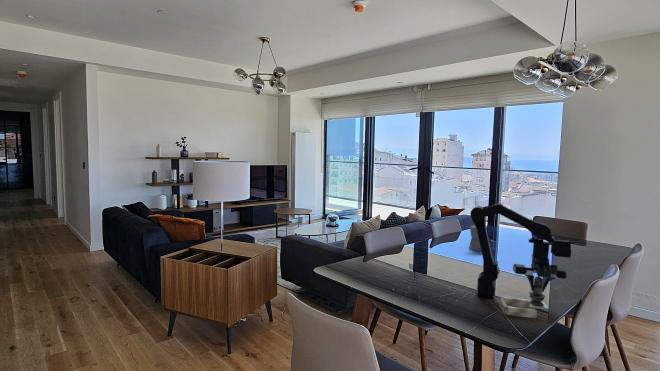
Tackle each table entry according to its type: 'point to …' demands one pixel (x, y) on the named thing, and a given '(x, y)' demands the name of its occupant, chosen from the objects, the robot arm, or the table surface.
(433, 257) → the table surface
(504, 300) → the beige bracket
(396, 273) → the table surface
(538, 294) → the dark grey chess piece
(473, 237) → the coffeepot
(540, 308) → the pad
